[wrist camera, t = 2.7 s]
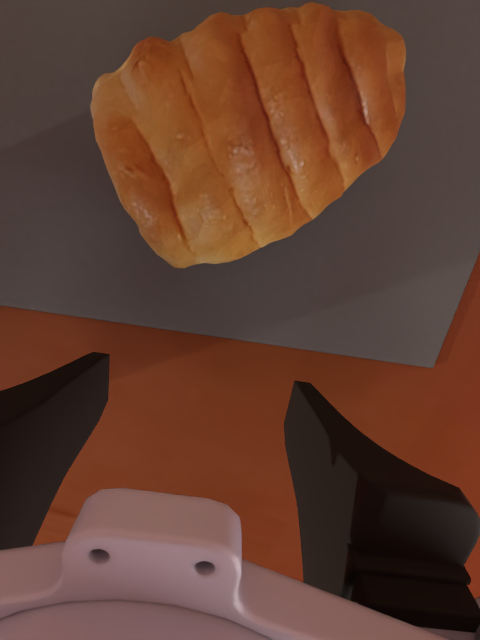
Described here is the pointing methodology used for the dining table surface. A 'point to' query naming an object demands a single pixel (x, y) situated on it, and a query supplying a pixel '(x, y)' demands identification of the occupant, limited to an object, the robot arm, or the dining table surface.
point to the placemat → (276, 257)
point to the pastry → (247, 125)
